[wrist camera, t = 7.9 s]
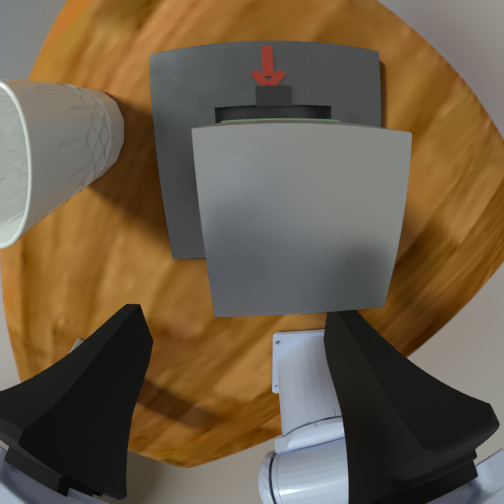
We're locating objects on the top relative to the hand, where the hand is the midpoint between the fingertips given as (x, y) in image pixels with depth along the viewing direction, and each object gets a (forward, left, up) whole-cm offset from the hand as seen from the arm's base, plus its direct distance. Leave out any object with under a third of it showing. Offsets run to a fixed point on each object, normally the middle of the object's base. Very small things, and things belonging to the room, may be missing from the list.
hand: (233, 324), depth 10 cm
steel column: (+5, -2, -4) cm, 7 cm away
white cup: (+8, +11, -10) cm, 17 cm away
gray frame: (+5, -2, -10) cm, 11 cm away
